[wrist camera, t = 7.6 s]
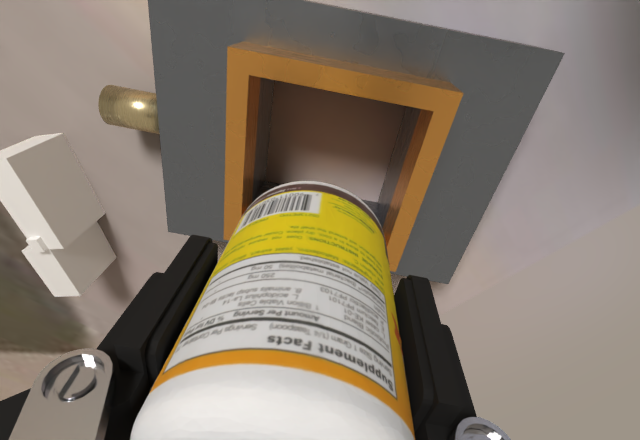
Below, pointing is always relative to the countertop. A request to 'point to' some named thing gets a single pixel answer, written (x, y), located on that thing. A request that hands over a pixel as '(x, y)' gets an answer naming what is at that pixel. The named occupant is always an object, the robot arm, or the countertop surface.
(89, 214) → the white angular block
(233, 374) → the supplement bottle
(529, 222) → the countertop surface
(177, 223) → the grey bottle holder
